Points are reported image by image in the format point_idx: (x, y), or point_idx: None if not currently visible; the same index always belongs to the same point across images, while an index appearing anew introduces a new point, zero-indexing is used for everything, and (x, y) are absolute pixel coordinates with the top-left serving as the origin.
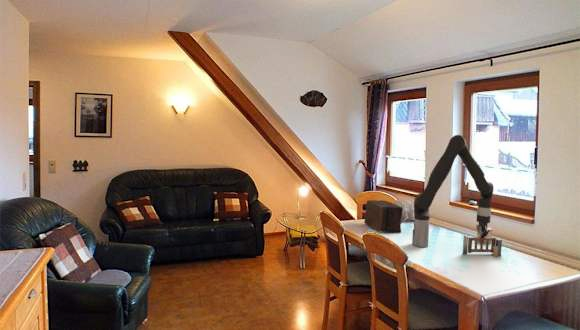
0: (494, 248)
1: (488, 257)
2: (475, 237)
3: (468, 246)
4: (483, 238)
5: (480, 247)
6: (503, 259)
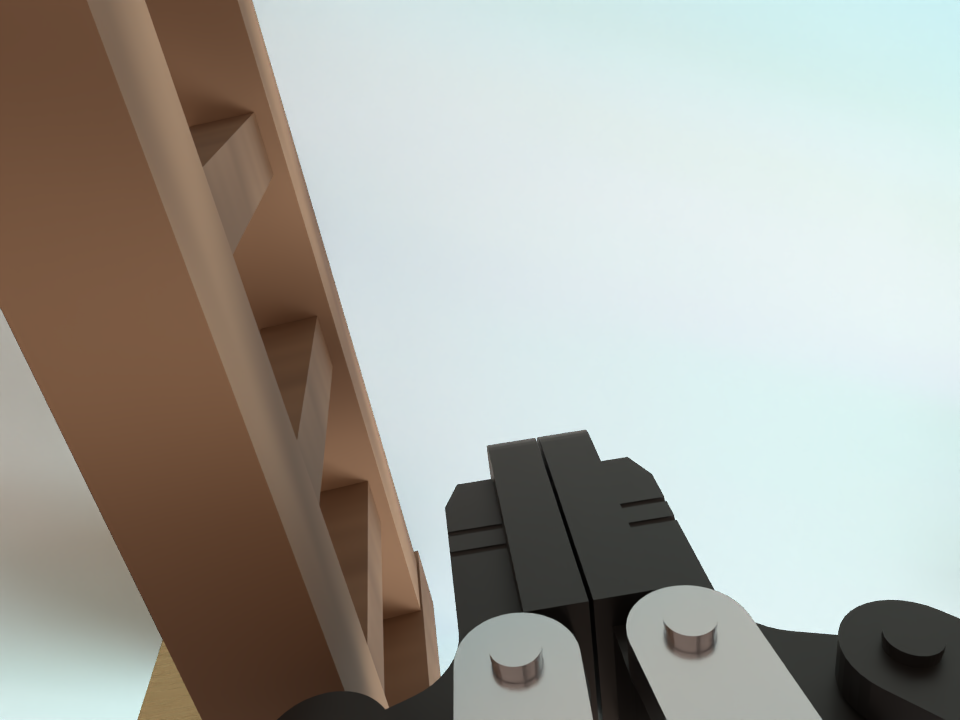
0: (150, 709)
1: (31, 407)
2: (169, 261)
3: None
4: (182, 667)
5: (293, 342)
6: (9, 680)
